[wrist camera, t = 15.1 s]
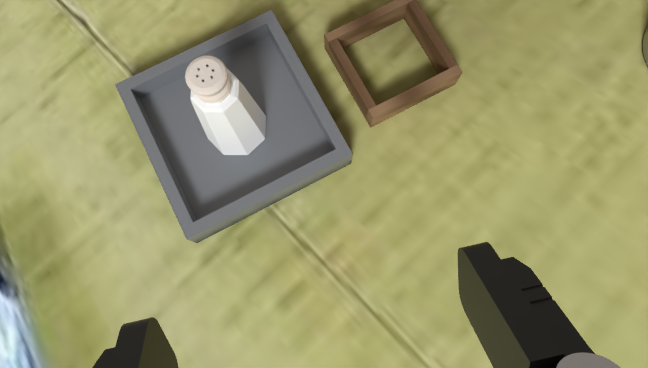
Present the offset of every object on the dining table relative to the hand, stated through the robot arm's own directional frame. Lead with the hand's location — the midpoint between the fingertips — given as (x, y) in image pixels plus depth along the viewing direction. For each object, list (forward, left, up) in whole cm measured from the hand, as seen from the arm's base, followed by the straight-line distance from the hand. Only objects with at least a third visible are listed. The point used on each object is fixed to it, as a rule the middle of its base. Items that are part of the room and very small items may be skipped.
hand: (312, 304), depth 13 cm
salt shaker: (0, -16, -28) cm, 32 cm away
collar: (-15, -16, -28) cm, 36 cm away
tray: (0, -17, -28) cm, 33 cm away
